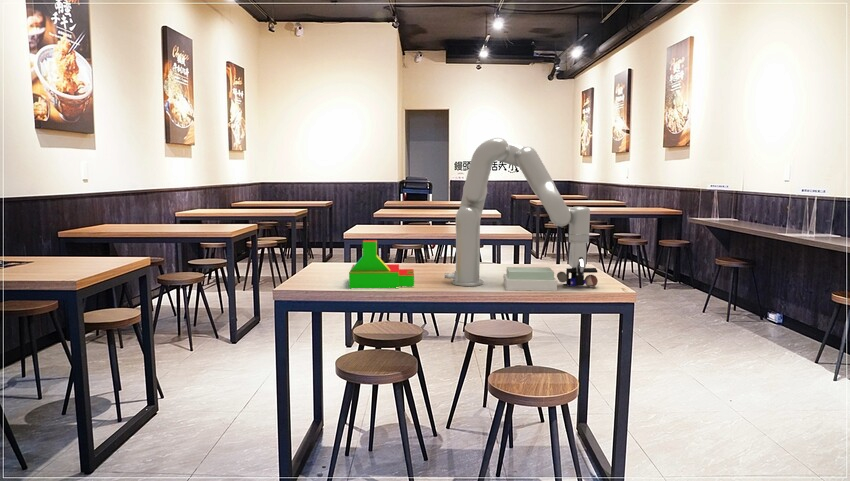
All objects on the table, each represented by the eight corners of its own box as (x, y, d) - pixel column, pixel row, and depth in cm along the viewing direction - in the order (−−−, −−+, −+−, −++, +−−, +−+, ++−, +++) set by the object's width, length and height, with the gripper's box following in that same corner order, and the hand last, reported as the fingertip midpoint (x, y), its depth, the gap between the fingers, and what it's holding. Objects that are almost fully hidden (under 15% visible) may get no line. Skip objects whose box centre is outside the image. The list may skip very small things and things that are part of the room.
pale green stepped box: (506, 290, 221) (506, 272, 220) (503, 283, 234) (503, 266, 233) (556, 290, 220) (557, 272, 220) (551, 284, 233) (551, 267, 232)
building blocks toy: (414, 289, 225) (414, 242, 223) (349, 289, 224) (348, 242, 222) (413, 279, 244) (413, 236, 241) (353, 280, 243) (352, 236, 240)
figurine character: (559, 291, 226) (599, 288, 224) (557, 271, 225) (597, 268, 223) (557, 287, 233) (596, 284, 230) (556, 269, 232) (595, 265, 230)
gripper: (564, 235, 235) (563, 279, 237) (573, 241, 218) (572, 287, 220) (583, 236, 234) (582, 279, 237) (594, 241, 217) (592, 288, 219)
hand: (577, 283), depth 228 cm, fingers closed on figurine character, 6 cm apart
